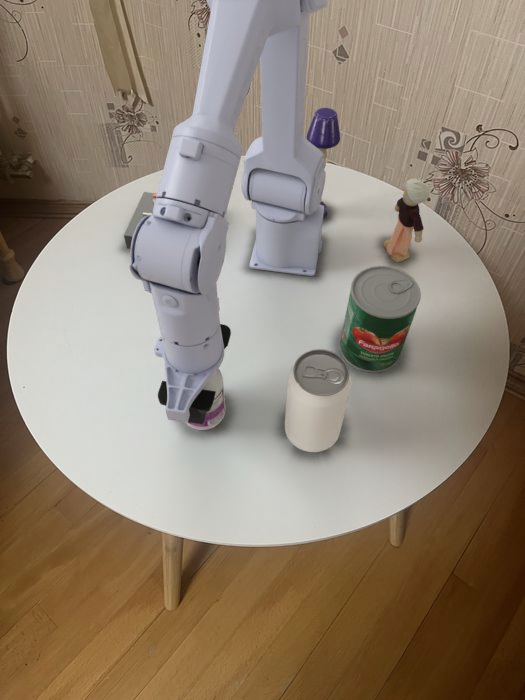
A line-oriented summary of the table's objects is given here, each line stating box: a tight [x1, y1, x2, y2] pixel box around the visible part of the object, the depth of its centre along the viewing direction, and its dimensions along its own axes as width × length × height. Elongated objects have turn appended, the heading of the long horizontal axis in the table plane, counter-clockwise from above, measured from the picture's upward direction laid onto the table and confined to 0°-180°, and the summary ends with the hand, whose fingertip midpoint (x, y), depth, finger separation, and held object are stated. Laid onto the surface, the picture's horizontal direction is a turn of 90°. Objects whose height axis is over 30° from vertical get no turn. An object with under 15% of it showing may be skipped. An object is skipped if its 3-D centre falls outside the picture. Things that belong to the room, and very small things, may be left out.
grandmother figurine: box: [383, 178, 430, 263], centre depth 78 cm, size 8×4×13 cm, turn 27°
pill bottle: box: [184, 368, 227, 431], centre depth 63 cm, size 5×5×10 cm
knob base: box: [123, 191, 157, 250], centre depth 85 cm, size 11×10×3 cm
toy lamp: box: [306, 107, 341, 220], centre depth 82 cm, size 5×5×17 cm
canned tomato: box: [339, 265, 422, 374], centre depth 69 cm, size 8×8×11 cm
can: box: [284, 348, 352, 453], centre depth 61 cm, size 6×6×12 cm
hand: (201, 397), depth 65 cm, fingers open, 5 cm apart
